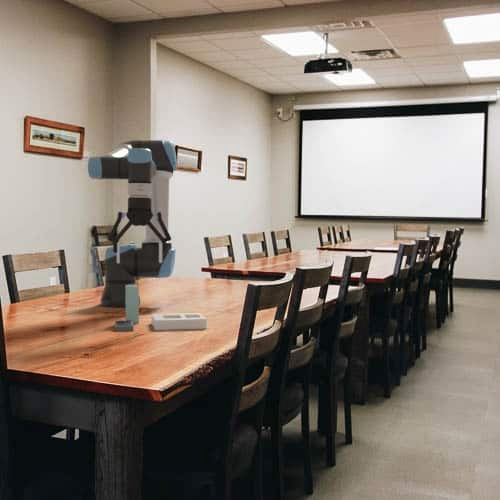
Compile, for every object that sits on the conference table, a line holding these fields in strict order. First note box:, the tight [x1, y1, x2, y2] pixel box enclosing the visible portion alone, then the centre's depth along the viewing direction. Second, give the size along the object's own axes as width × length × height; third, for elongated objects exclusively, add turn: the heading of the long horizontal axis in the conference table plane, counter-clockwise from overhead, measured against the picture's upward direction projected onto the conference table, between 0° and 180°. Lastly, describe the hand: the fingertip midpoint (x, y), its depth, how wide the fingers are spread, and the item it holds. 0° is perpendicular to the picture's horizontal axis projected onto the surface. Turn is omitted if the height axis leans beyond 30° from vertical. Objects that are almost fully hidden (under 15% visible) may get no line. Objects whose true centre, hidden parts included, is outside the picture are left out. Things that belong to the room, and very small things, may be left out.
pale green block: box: [125, 284, 140, 324], centre depth 212 cm, size 4×4×12 cm
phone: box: [114, 319, 134, 332], centre depth 202 cm, size 10×6×2 cm, turn 11°
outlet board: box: [150, 312, 208, 331], centre depth 207 cm, size 12×16×3 cm
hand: (139, 262), depth 211 cm, fingers open, 13 cm apart
